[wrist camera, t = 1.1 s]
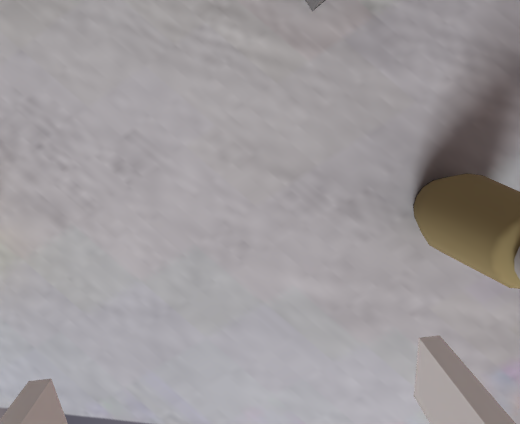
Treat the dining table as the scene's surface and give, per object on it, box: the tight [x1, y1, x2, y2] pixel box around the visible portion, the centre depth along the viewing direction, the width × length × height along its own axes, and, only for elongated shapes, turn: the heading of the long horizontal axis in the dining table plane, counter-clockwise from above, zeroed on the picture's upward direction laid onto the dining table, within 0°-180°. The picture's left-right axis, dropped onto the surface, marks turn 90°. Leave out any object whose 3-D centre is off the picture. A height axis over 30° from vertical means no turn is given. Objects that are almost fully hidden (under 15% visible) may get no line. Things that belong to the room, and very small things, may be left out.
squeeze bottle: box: [413, 174, 520, 289], centre depth 26 cm, size 8×8×18 cm
